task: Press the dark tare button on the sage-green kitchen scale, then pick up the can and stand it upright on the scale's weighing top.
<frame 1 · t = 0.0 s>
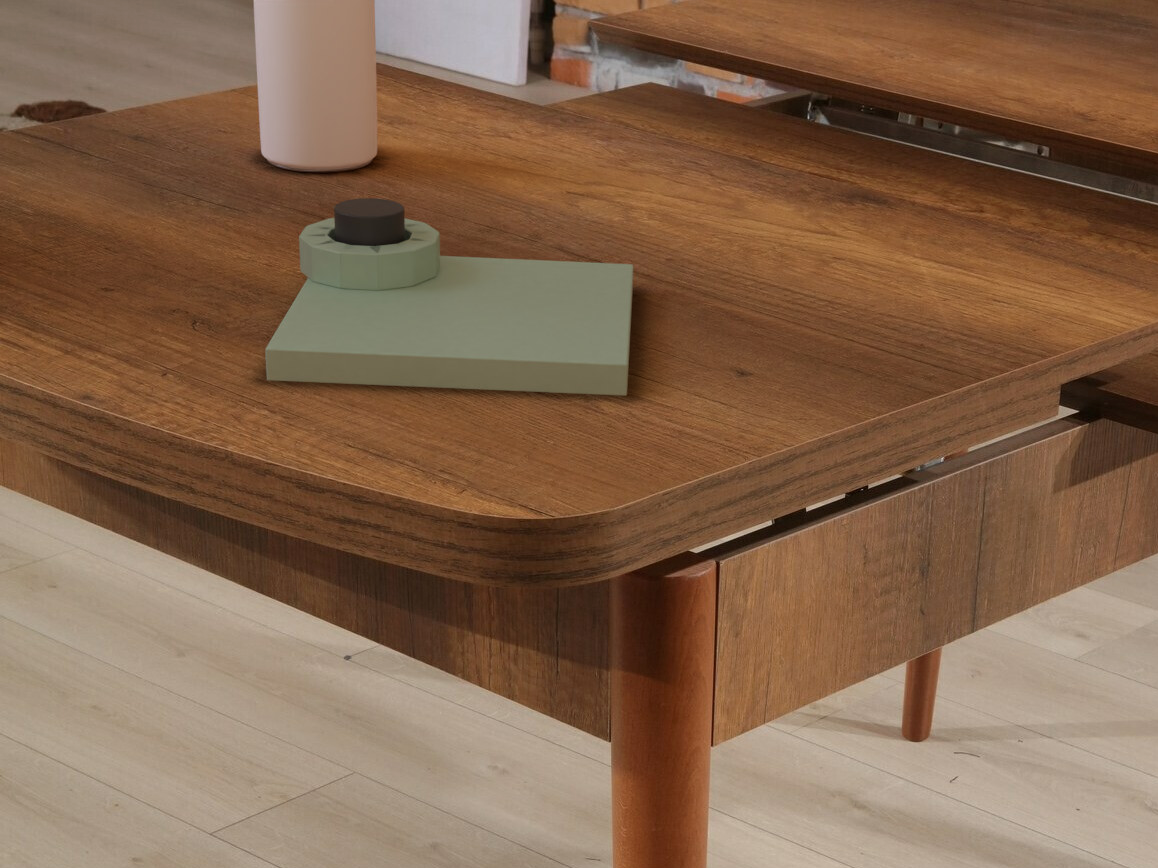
can: (320, 163, 100), on the table
tare button: (369, 224, 77), point 3 cm above the table, slide at 0.1 cm
scale: (464, 334, 75), on the table
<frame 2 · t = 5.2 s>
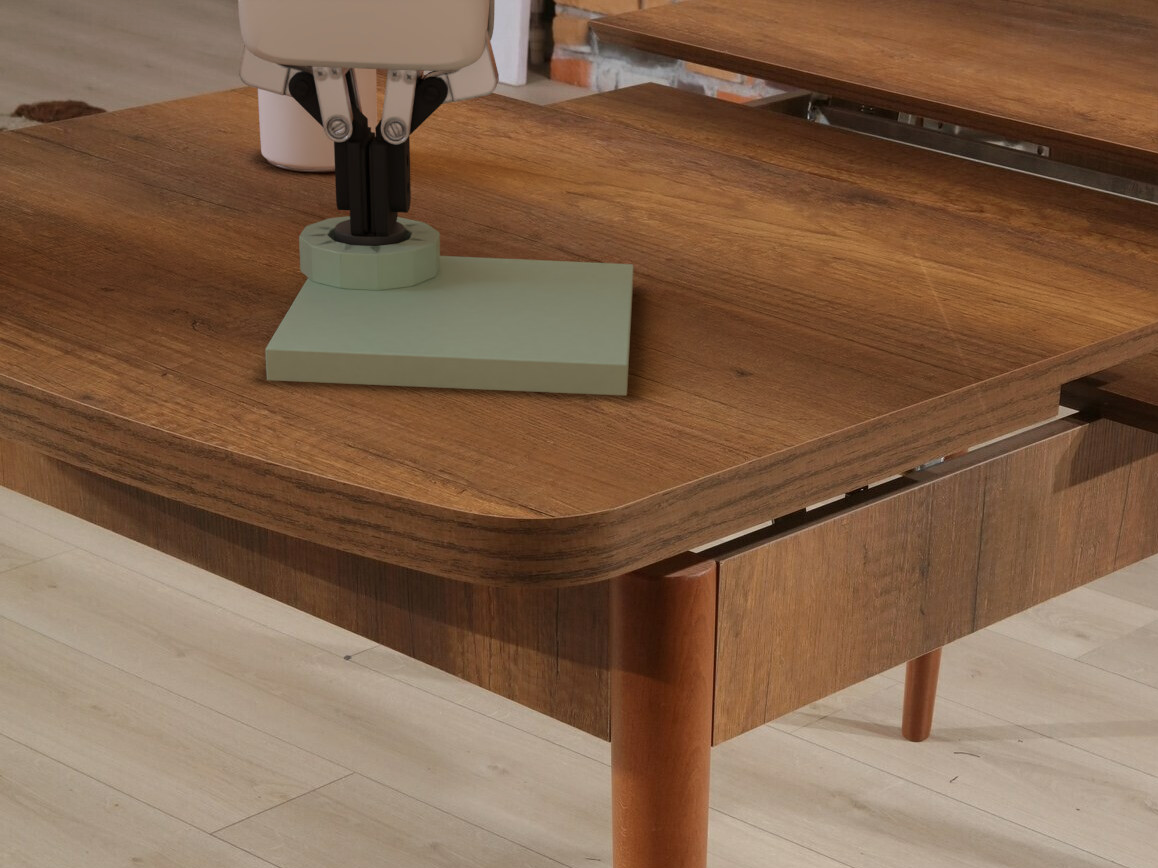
hand: (374, 226, 77), 3 cm above the table, tool pointing down, fingers closed
tare button: (370, 244, 78), point 3 cm above the table, slide at -0.7 cm, touching gripper
everything else where it was.
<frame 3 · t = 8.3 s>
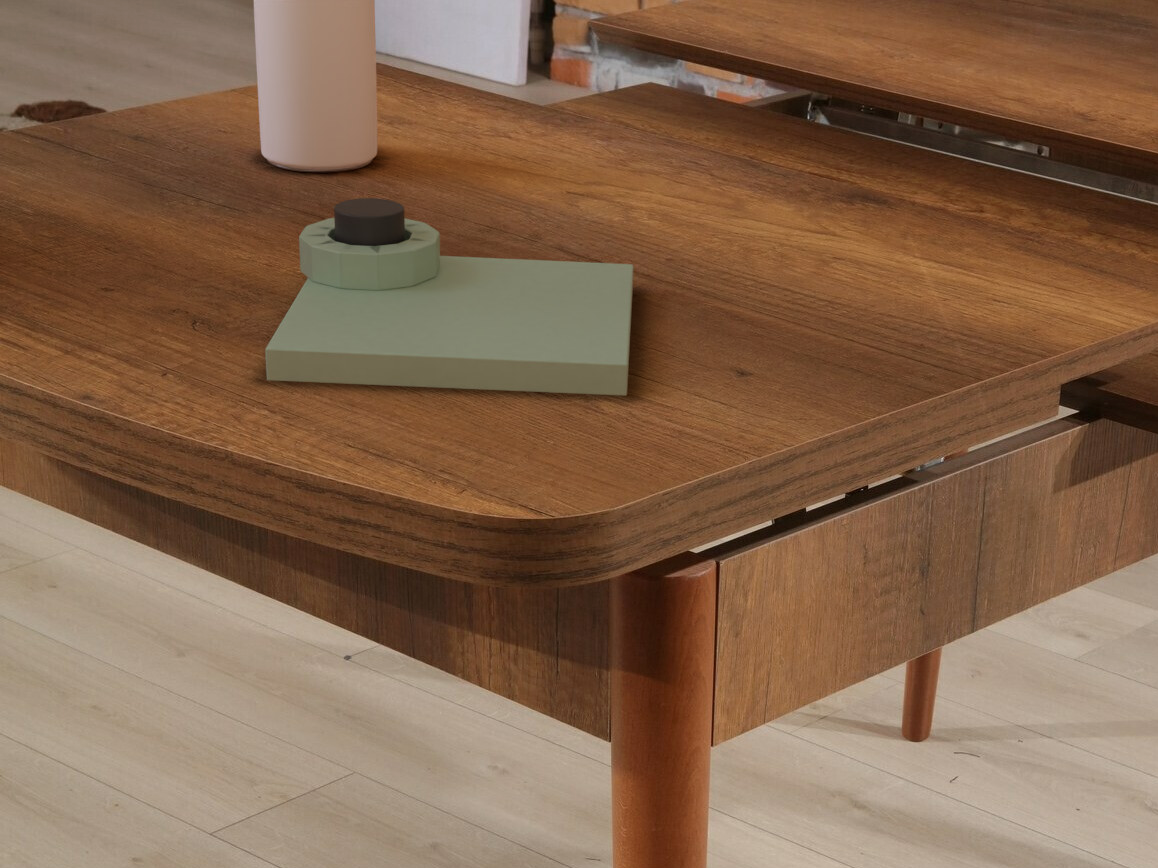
tare button: (369, 224, 77), point 3 cm above the table, slide at 0.1 cm
everything else where it was.
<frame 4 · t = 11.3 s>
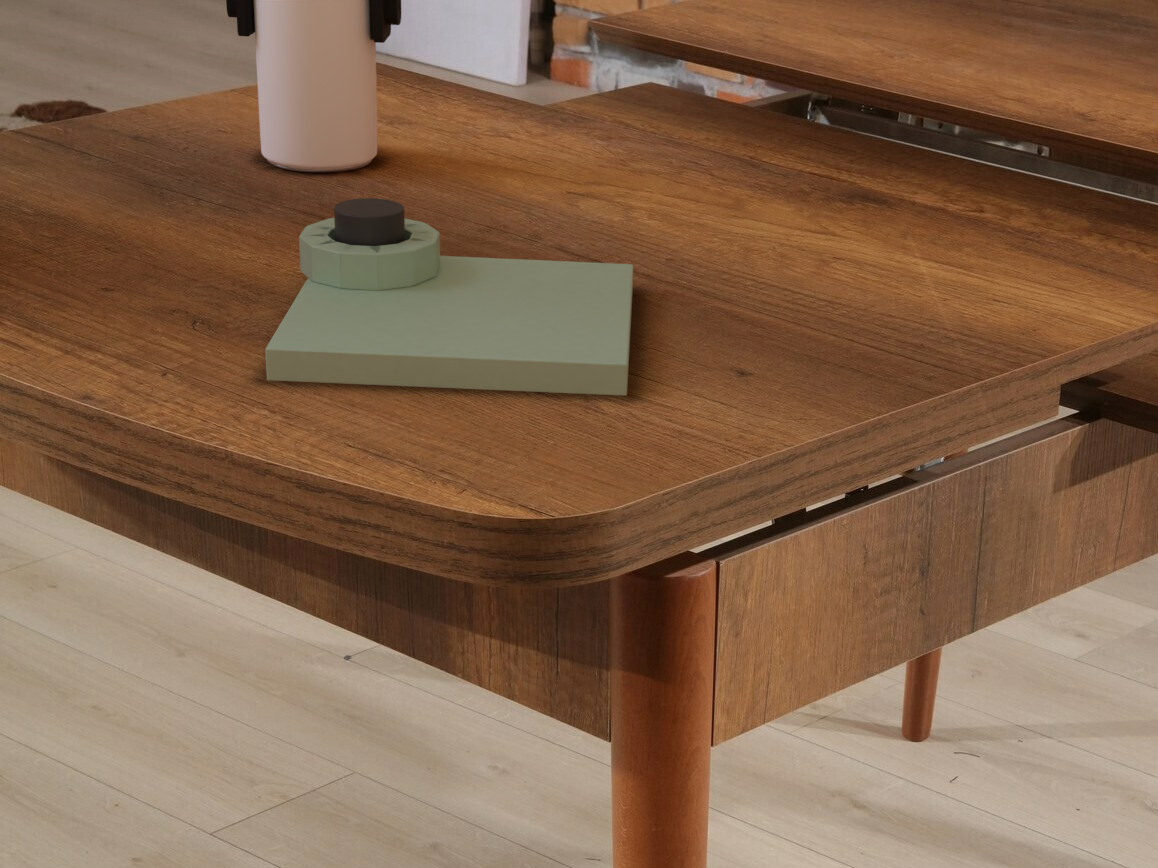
hand: (315, 32, 97), 7 cm above the table, tool pointing down, fingers closed on can, 6 cm apart
can: (320, 163, 100), on the table, touching gripper
everything else where it was.
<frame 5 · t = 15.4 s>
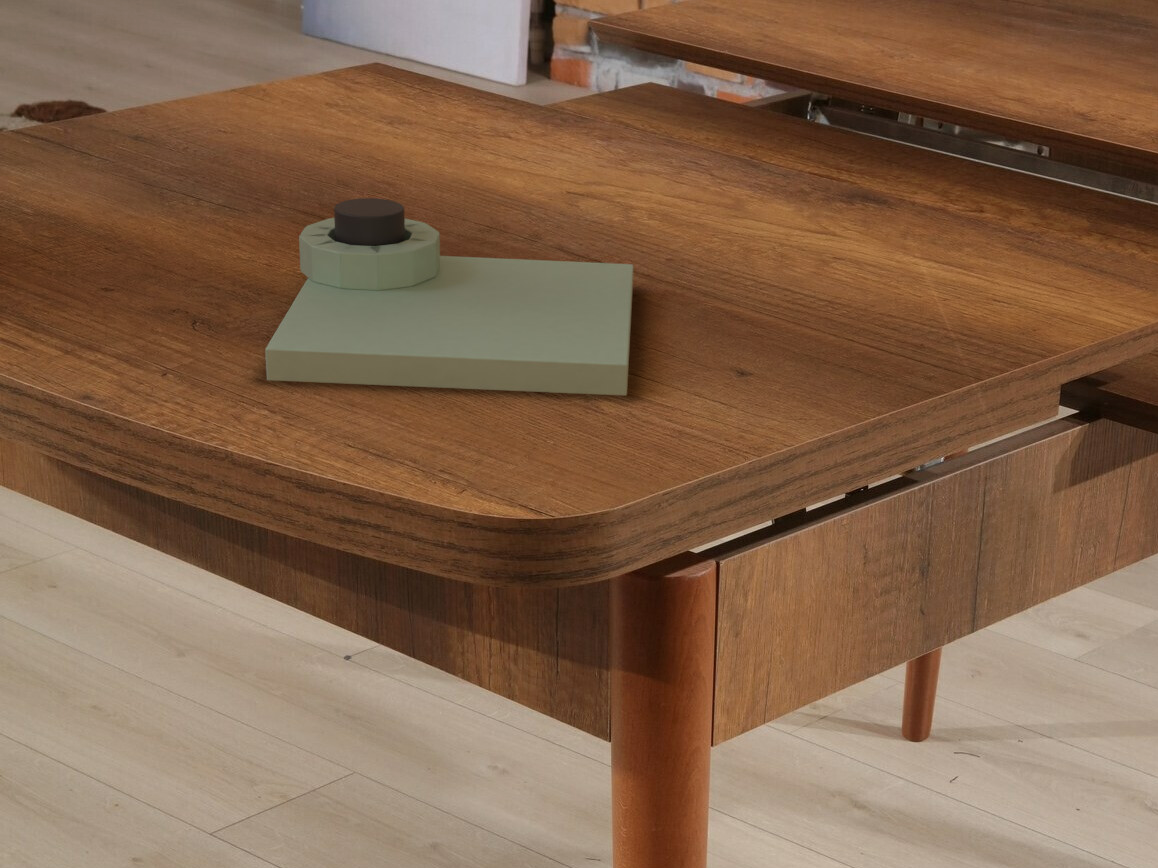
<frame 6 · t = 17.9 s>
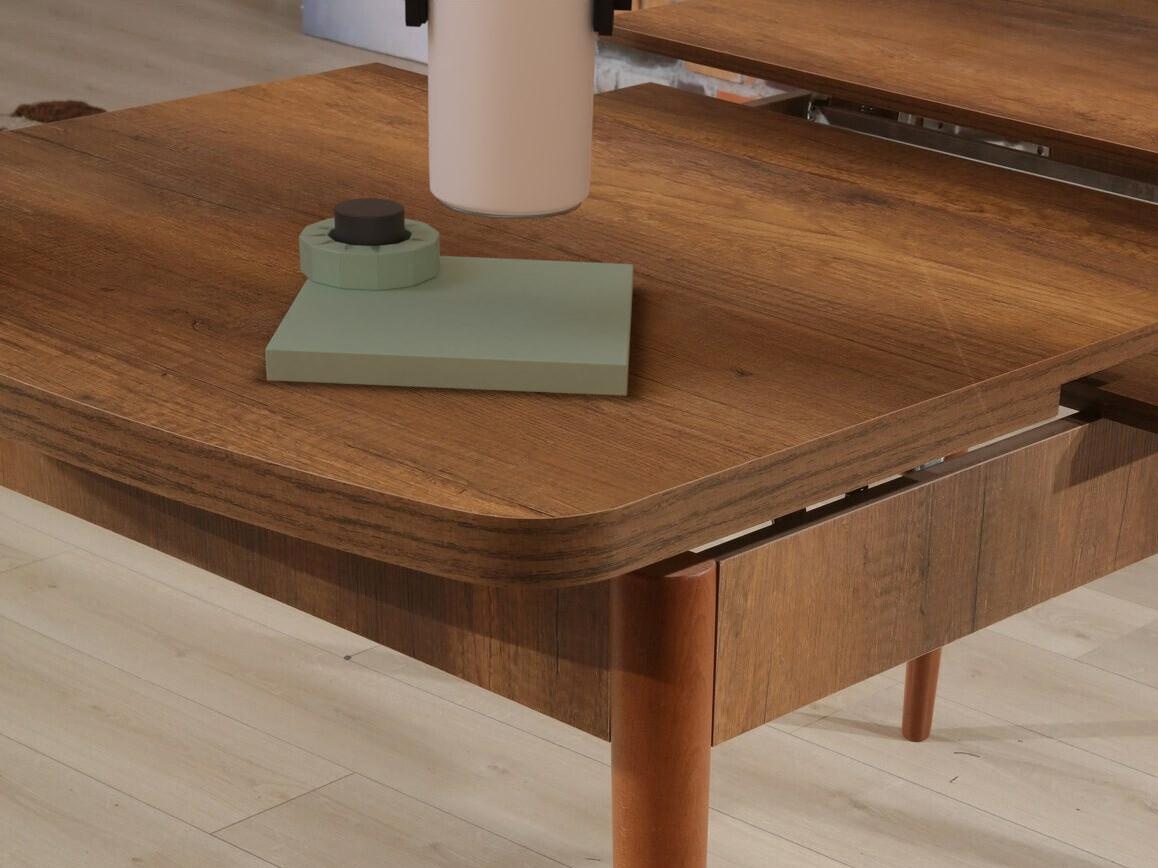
hand: (511, 21, 69), 13 cm above the table, tool pointing down, fingers closed on can, 6 cm apart
can: (510, 204, 72), point 6 cm above the table, touching gripper
everything else where it was.
when the fingers open (8 cm above the table, at t = 19.9 s): can stays where it is, resting on scale.
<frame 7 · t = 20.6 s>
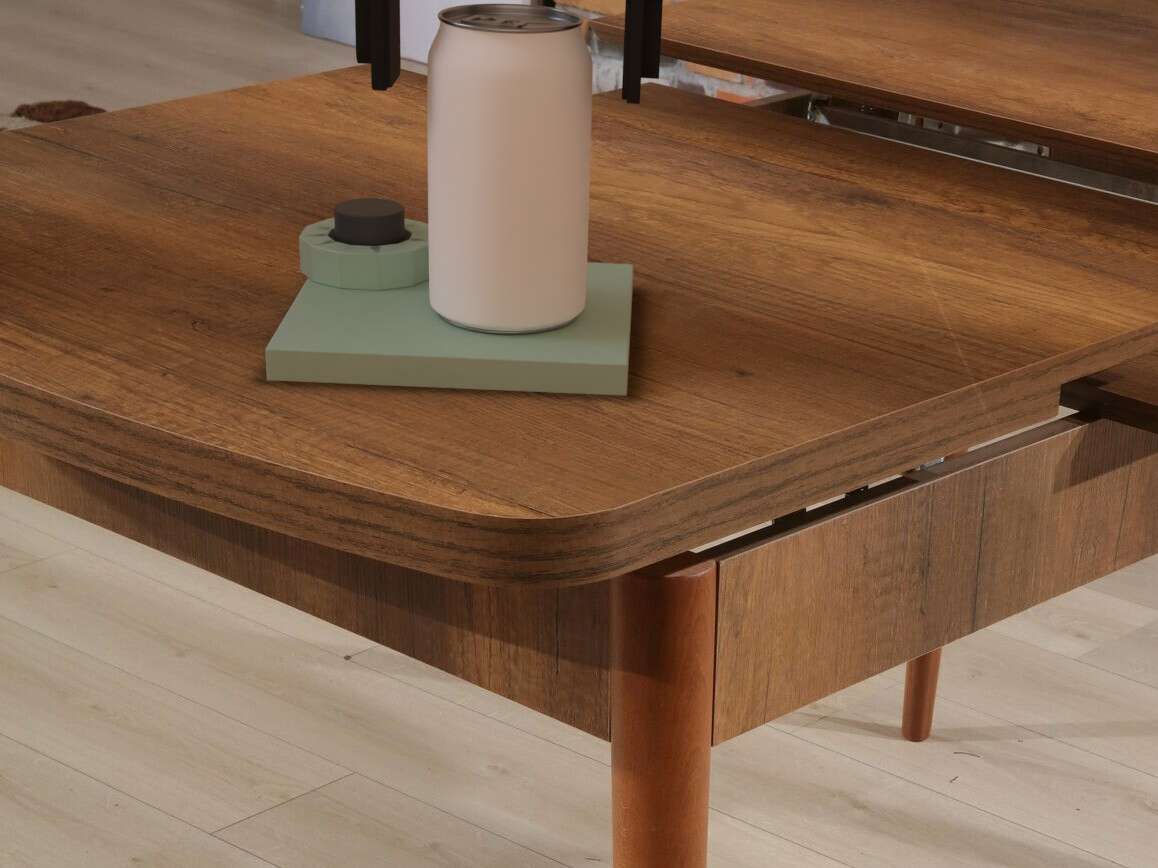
hand: (509, 90, 70), 11 cm above the table, tool pointing down, fingers open, 9 cm apart
can: (507, 316, 74), point 1 cm above the table, touching scale
everything else where it was.
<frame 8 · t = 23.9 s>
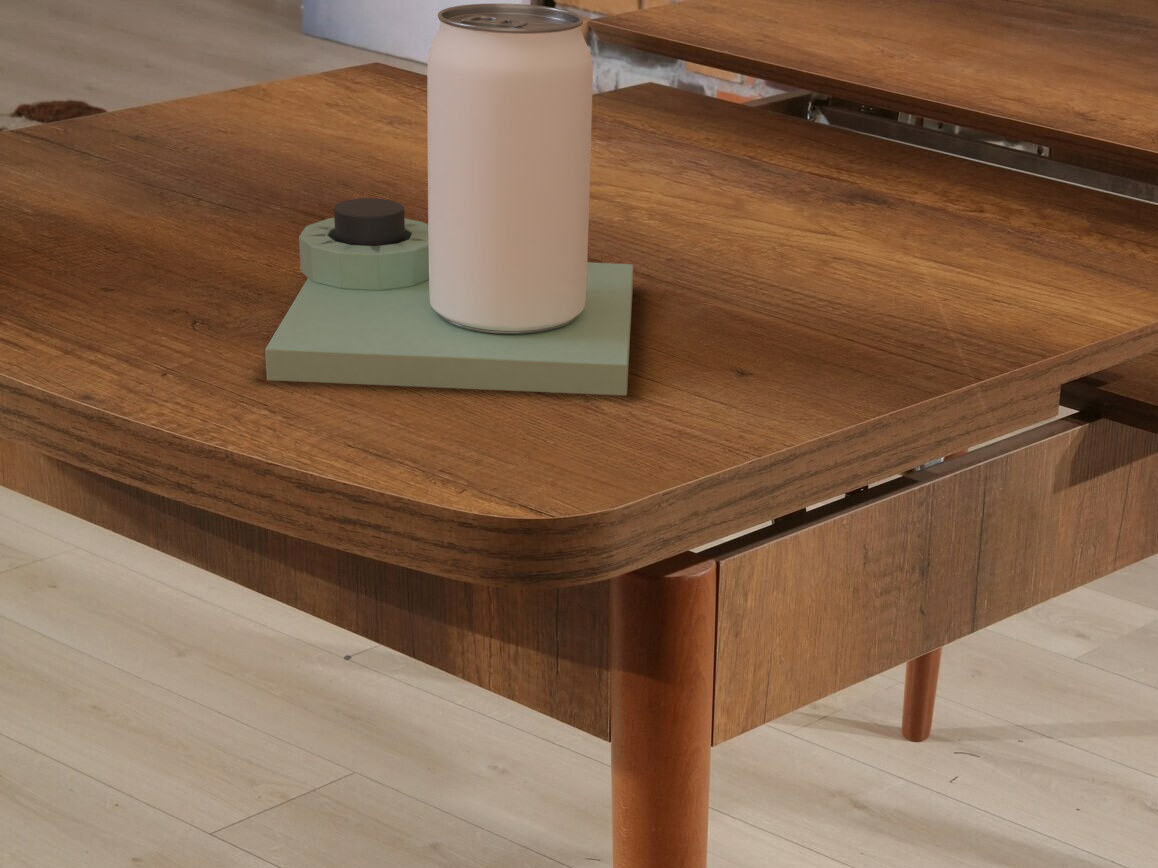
nothing on the table moved.
at the end: tare button pushed in 0.9 cm at the most during the clip, back to where it started at the end; can inside the target area on the scale (1.0 cm from its centre), point 1.2 cm above the scale's base; can tilted 0° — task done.
